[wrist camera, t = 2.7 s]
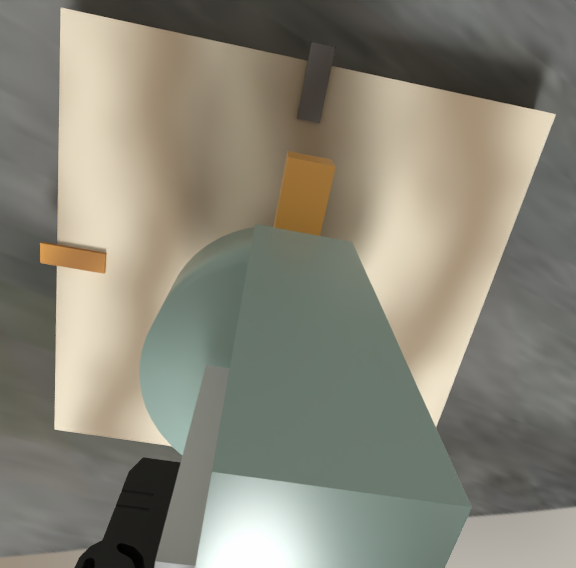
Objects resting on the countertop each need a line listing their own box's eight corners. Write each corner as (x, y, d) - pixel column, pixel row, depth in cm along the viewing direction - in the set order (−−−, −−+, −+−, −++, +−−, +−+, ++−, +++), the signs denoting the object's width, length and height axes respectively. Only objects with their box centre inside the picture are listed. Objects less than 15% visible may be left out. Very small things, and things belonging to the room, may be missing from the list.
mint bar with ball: (153, 419, 22) (-24, 894, 9) (185, 129, 17) (-93, 274, 4) (346, 447, 23) (431, 921, 10) (427, 177, 18) (795, 419, 5)
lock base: (57, 405, 29) (7, 477, 24) (63, -9, 21) (-10, -38, 16) (407, 456, 31) (434, 533, 26) (539, 96, 23) (617, 100, 17)
